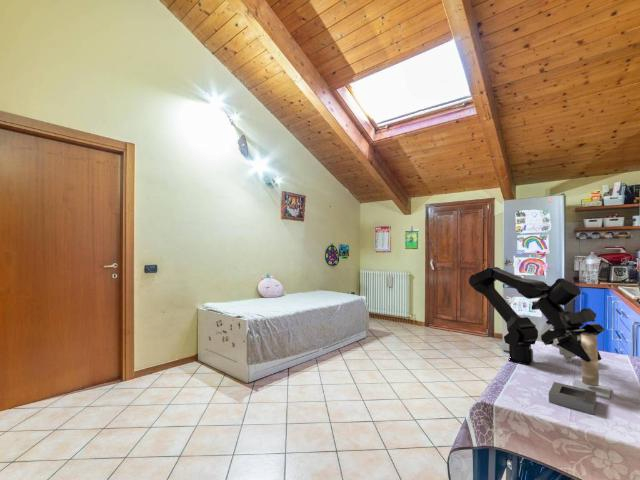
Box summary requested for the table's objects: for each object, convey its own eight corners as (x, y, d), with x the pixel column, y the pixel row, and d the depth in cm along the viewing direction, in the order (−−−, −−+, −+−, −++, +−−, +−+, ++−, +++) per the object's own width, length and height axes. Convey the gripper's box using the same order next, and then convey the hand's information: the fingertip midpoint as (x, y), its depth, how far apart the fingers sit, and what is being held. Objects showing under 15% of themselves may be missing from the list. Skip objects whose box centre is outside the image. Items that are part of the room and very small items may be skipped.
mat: (571, 390, 87) (571, 388, 87) (574, 381, 93) (574, 379, 93) (609, 399, 82) (609, 397, 82) (610, 389, 87) (610, 387, 87)
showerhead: (557, 334, 117) (589, 341, 108) (557, 353, 117) (590, 361, 108) (543, 338, 112) (576, 346, 104) (544, 358, 112) (577, 367, 103)
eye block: (548, 402, 81) (548, 392, 81) (554, 390, 88) (554, 381, 88) (593, 414, 75) (593, 404, 75) (596, 401, 81) (595, 391, 81)
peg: (585, 385, 87) (583, 336, 87) (580, 380, 90) (578, 332, 90) (601, 387, 85) (599, 337, 86) (595, 381, 89) (593, 333, 89)
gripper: (548, 301, 90) (591, 350, 79) (596, 297, 94) (642, 343, 83) (525, 321, 97) (561, 369, 86) (570, 316, 102) (610, 362, 91)
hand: (594, 360), depth 86 cm, fingers closed on peg, 4 cm apart
